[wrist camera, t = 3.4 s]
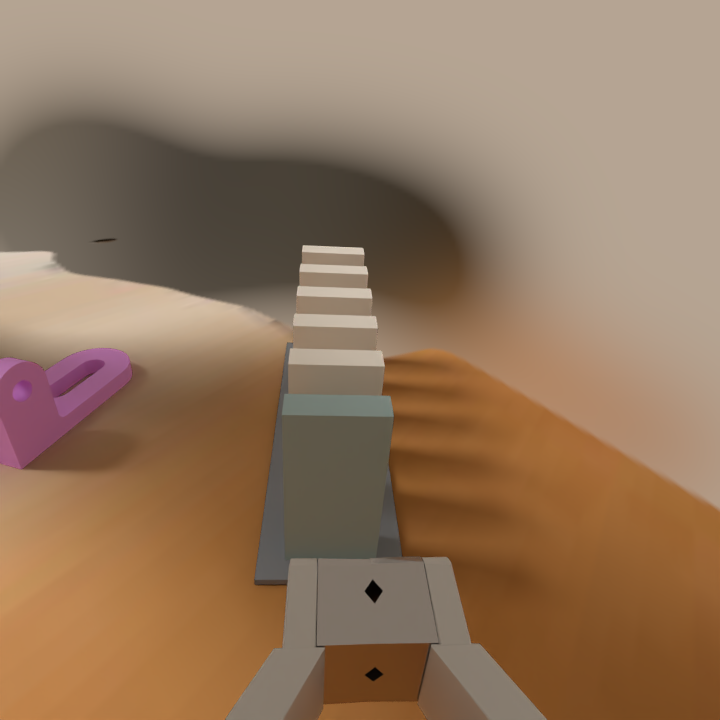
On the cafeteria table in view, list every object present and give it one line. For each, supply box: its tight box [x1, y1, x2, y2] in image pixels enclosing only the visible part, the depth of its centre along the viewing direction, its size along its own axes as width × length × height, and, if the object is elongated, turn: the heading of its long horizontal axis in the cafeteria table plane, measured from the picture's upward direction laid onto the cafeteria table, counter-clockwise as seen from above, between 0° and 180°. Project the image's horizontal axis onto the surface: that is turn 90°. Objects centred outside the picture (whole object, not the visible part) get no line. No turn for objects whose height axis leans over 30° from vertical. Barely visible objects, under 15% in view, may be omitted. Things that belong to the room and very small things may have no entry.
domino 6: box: [282, 394, 394, 560], centre depth 25 cm, size 2×5×10 cm, turn 93°
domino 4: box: [293, 314, 378, 351], centre depth 32 cm, size 2×5×10 cm, turn 93°
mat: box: [254, 343, 402, 585], centre depth 37 cm, size 25×8×1 cm, turn 3°
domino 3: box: [297, 286, 372, 316], centre depth 36 cm, size 2×5×10 cm, turn 93°
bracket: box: [0, 348, 132, 469], centre depth 36 cm, size 13×6×7 cm, turn 165°
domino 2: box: [300, 264, 368, 289], centre depth 40 cm, size 2×5×10 cm, turn 93°
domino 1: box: [302, 245, 364, 266], centre depth 43 cm, size 2×5×10 cm, turn 93°
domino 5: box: [288, 348, 385, 396], centre depth 29 cm, size 2×5×10 cm, turn 93°
